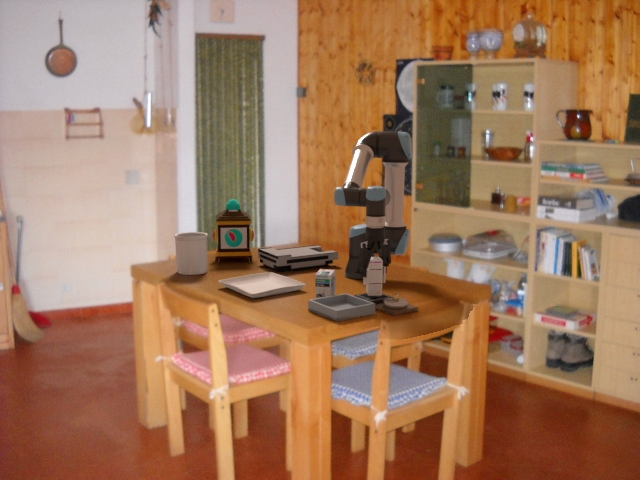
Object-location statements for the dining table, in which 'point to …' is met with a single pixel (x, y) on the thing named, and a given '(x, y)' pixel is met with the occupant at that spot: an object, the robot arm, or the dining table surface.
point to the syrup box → (375, 277)
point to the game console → (296, 258)
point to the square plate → (262, 284)
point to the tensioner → (389, 304)
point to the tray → (341, 307)
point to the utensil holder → (191, 253)
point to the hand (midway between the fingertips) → (374, 283)
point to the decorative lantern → (233, 232)
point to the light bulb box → (324, 283)
